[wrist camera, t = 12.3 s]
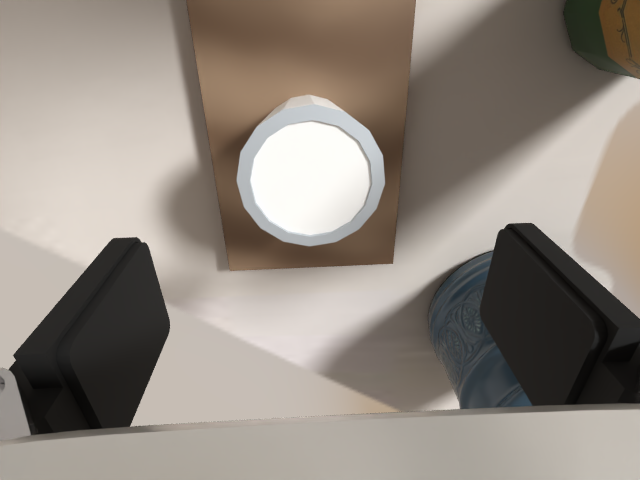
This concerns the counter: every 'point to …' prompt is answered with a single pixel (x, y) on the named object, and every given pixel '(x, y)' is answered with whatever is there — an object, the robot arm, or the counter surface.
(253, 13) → the walnut board
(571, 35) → the bottle
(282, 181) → the shot glass
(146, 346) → the robot arm
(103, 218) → the counter surface
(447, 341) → the canister
